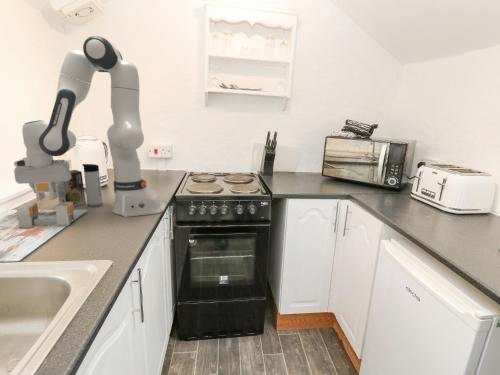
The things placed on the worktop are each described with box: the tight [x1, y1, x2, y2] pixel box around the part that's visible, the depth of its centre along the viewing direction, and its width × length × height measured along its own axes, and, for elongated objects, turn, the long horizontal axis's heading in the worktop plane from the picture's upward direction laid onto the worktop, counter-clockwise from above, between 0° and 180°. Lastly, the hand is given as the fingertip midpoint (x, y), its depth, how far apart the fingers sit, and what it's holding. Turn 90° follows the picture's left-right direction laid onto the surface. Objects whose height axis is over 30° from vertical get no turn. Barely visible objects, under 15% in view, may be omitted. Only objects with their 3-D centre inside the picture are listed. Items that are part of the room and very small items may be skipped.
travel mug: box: [82, 163, 103, 208], centre depth 139 cm, size 6×7×20 cm
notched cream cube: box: [34, 182, 59, 202], centre depth 126 cm, size 6×6×8 cm
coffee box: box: [58, 169, 87, 208], centre depth 138 cm, size 9×6×16 cm
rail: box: [15, 202, 76, 229], centre depth 115 cm, size 18×6×8 cm, turn 101°
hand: (46, 192), depth 126 cm, fingers closed on notched cream cube, 6 cm apart
